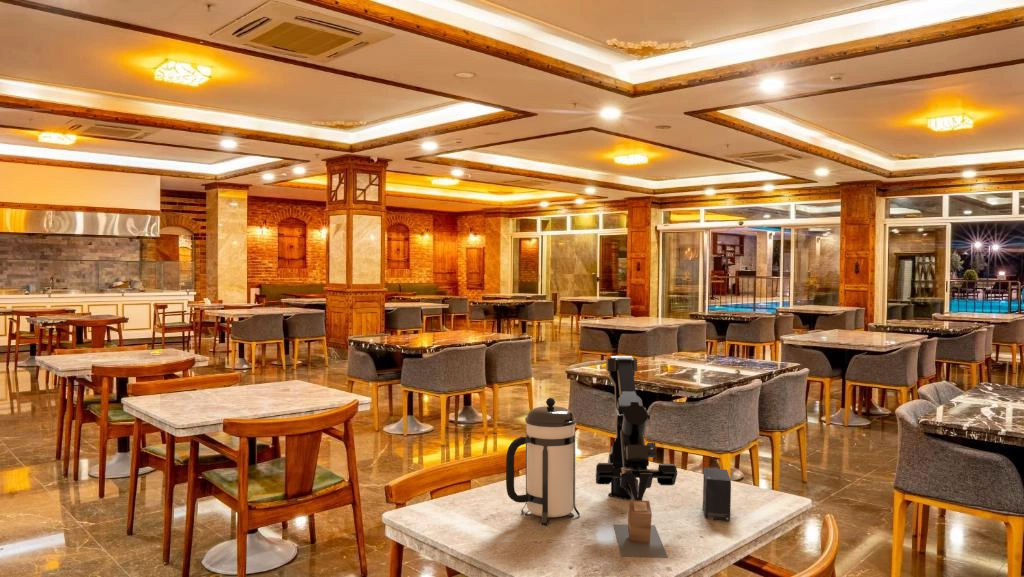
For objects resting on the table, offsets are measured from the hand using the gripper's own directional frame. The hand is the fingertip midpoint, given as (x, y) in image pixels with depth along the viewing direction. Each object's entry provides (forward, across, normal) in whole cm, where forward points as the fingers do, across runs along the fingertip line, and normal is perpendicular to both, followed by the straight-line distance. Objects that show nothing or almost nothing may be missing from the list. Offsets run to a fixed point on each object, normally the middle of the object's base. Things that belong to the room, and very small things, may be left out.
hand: (638, 507), depth 163 cm
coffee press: (-5, -21, +16) cm, 27 cm away
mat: (+6, 0, +5) cm, 8 cm away
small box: (-8, +22, +19) cm, 30 cm away
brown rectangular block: (+5, 0, +4) cm, 7 cm away
